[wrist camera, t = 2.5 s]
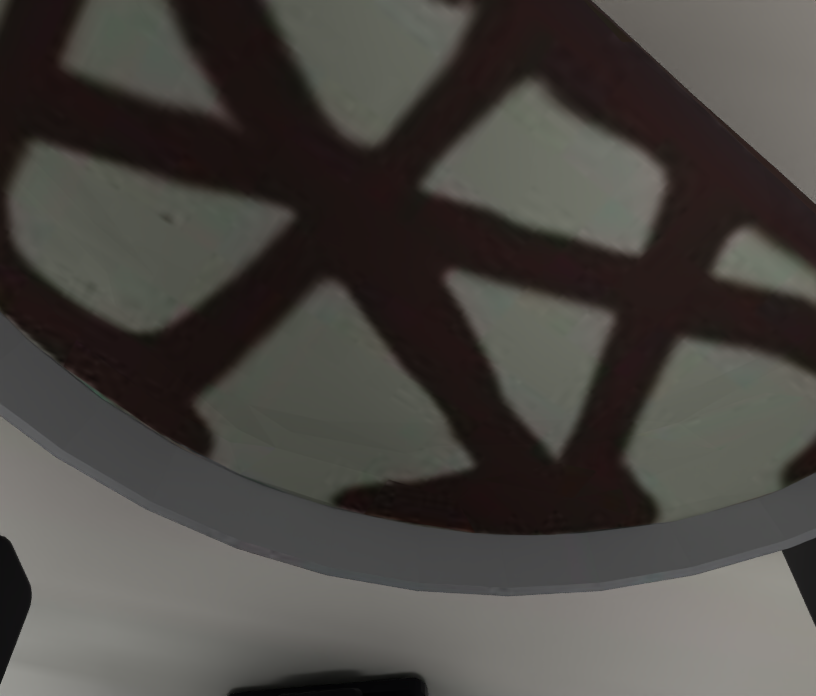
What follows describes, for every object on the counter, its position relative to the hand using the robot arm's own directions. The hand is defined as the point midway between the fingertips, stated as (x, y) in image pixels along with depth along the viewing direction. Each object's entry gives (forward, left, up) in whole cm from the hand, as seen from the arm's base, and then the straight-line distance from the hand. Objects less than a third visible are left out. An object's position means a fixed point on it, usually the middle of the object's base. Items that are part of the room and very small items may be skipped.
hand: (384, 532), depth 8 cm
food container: (+4, 0, -9) cm, 9 cm away
